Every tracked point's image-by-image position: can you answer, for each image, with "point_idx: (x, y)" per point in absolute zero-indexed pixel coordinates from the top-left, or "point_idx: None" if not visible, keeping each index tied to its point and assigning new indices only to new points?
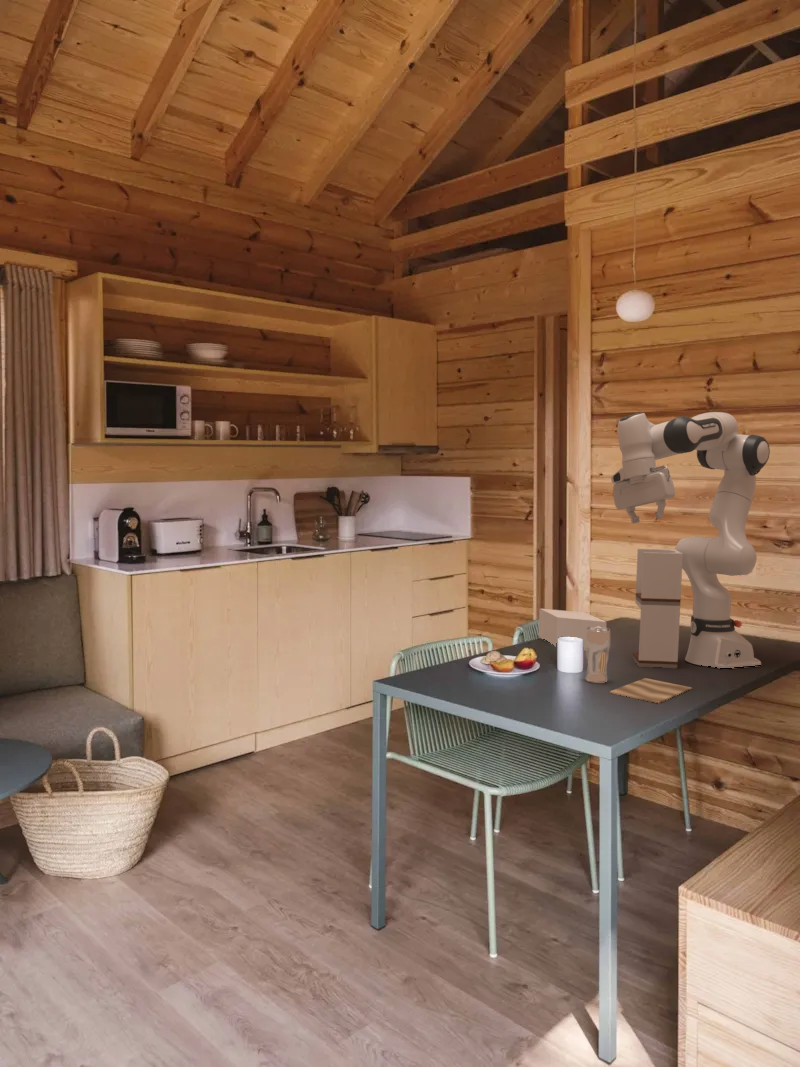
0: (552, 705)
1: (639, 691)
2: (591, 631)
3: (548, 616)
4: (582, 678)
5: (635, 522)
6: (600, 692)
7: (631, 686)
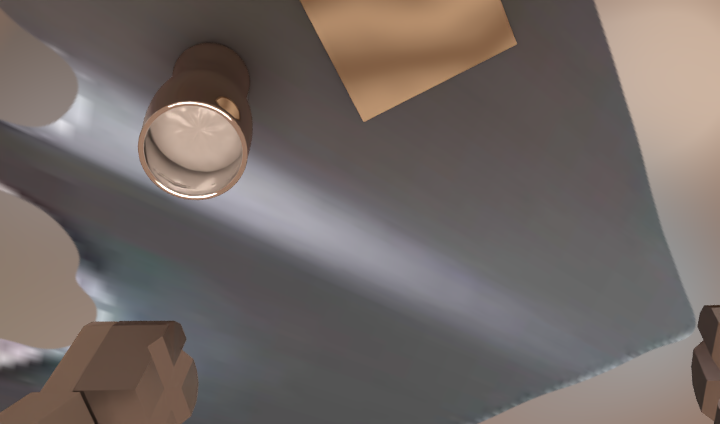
0: (412, 316)
1: (396, 29)
2: (217, 193)
3: None
4: None
5: (197, 385)
6: (345, 142)
7: (334, 18)
